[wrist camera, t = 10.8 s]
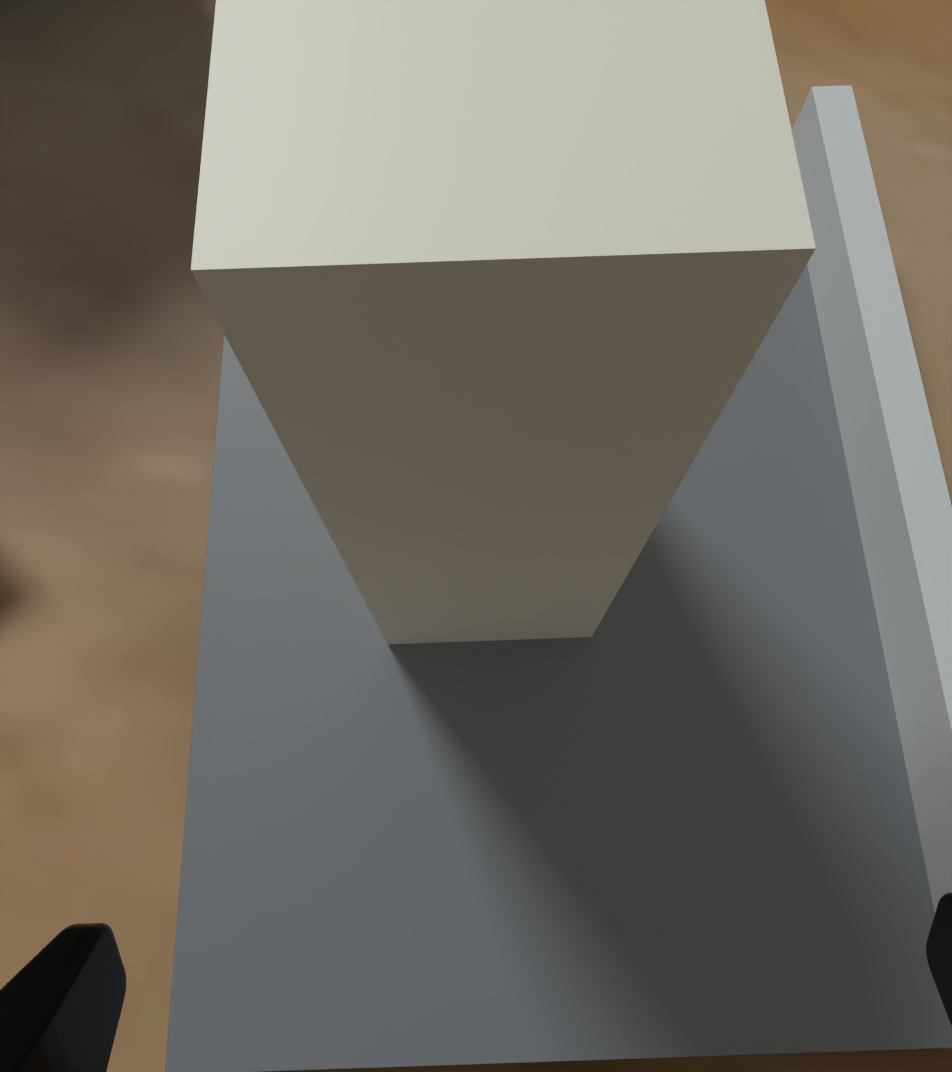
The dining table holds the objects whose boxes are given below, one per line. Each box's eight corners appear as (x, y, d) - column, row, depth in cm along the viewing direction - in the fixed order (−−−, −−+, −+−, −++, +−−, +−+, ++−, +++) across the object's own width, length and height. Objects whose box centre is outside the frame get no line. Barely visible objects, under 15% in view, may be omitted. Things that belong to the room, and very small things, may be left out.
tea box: (600, 636, 18) (844, 247, 6) (387, 644, 18) (190, 268, 6) (579, 395, 20) (728, -270, 8) (387, 401, 20) (240, -254, 8)
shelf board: (984, 1027, 17) (1105, 1074, 14) (191, 1054, 17) (121, 1109, 14) (808, 173, 24) (859, 70, 21) (253, 190, 24) (216, 89, 21)
